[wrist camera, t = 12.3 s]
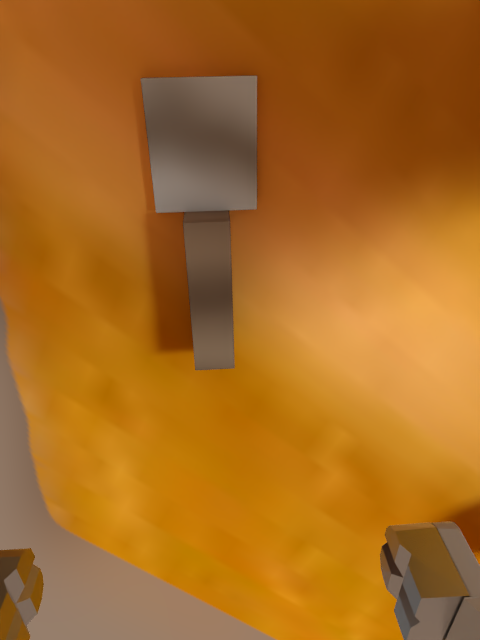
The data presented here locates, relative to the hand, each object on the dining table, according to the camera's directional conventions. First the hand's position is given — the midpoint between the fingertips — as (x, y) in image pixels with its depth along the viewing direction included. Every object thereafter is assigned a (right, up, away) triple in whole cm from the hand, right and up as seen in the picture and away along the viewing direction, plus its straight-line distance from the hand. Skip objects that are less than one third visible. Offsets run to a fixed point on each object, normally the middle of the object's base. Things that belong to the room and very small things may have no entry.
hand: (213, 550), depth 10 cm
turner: (-1, +11, +17) cm, 21 cm away
